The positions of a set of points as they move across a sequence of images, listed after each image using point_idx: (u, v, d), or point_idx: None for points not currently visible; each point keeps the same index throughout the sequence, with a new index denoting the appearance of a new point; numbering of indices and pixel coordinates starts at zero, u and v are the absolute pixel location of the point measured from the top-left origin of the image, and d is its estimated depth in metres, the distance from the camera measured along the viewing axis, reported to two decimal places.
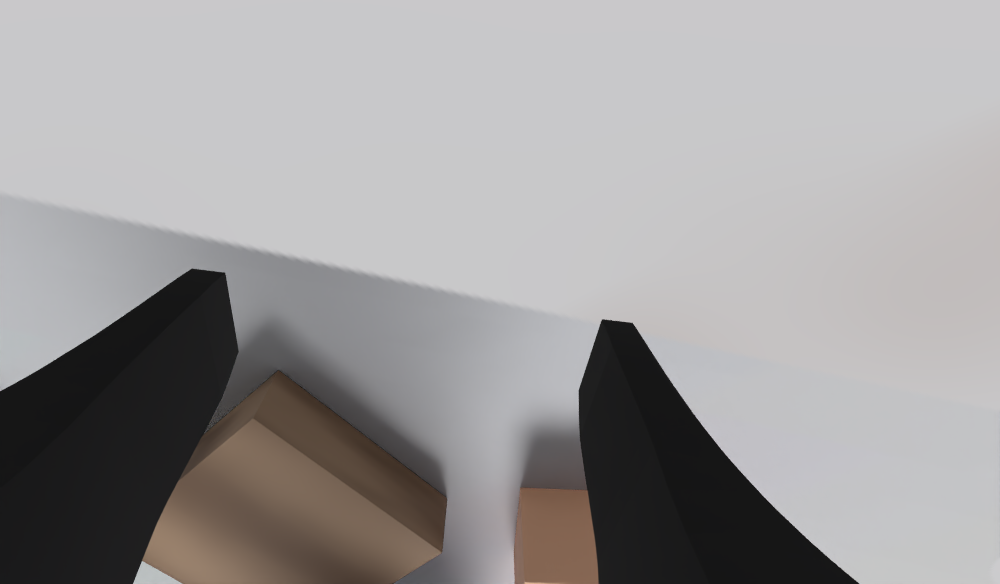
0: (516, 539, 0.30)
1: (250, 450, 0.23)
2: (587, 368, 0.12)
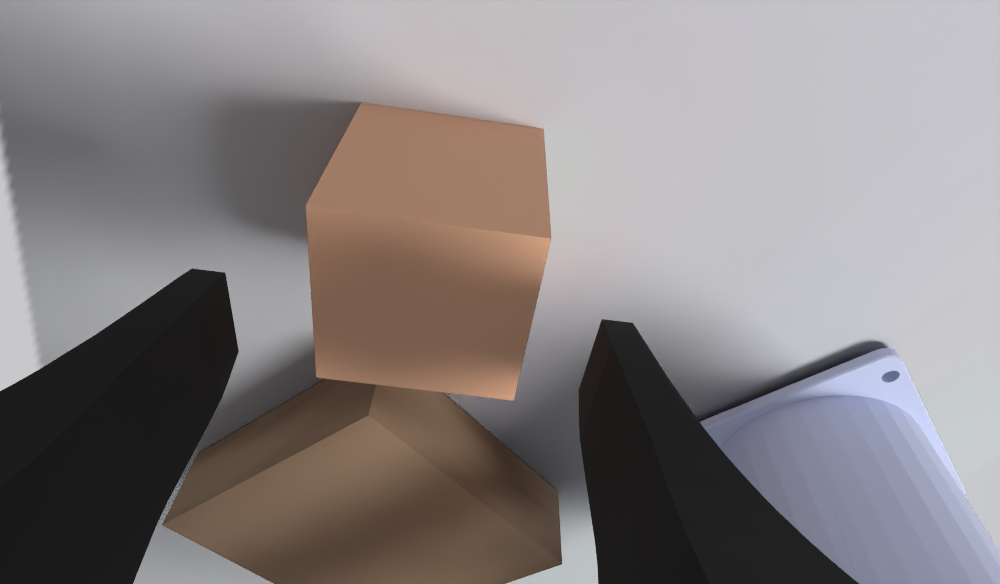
0: None
1: (210, 533, 0.22)
2: (587, 368, 0.12)
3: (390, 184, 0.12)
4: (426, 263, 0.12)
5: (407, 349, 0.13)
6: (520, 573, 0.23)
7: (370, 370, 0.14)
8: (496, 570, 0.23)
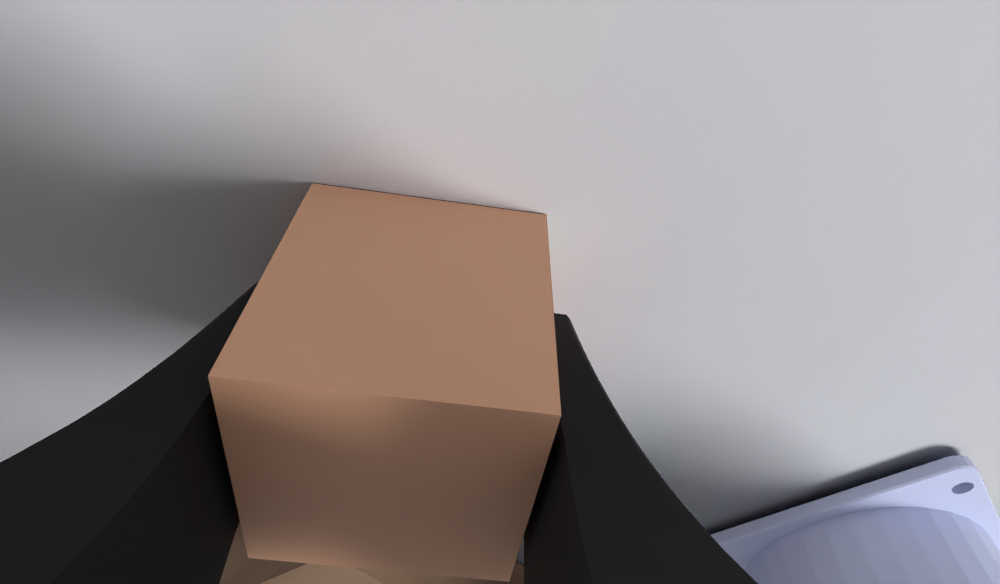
0: None
1: None
2: None
3: (336, 325, 0.09)
4: (386, 442, 0.08)
5: (366, 531, 0.10)
6: None
7: (318, 551, 0.10)
8: None
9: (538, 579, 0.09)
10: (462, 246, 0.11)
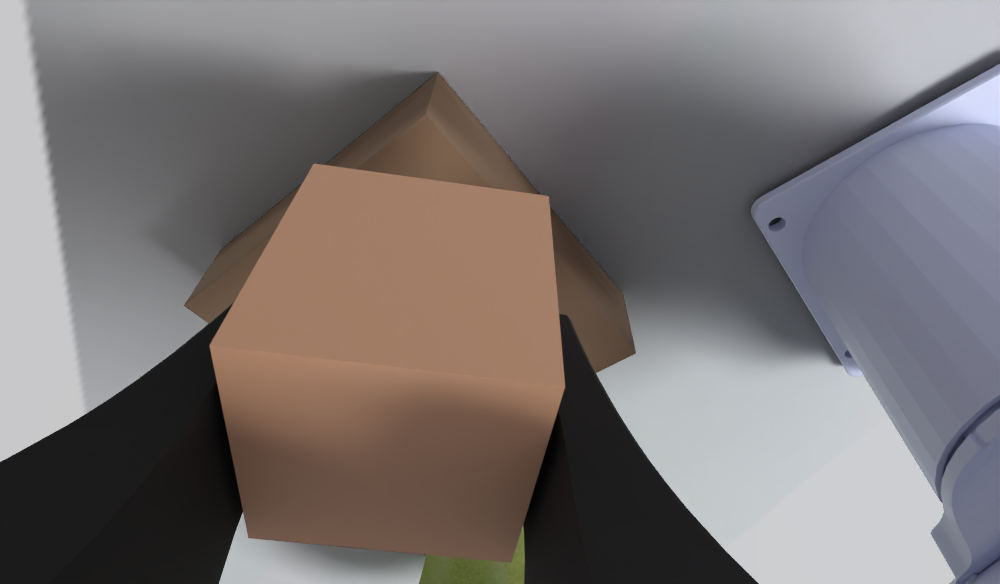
0: None
1: None
2: None
3: (338, 299, 0.09)
4: (388, 415, 0.08)
5: (366, 509, 0.10)
6: None
7: (320, 531, 0.10)
8: None
9: (538, 579, 0.09)
10: (464, 225, 0.11)
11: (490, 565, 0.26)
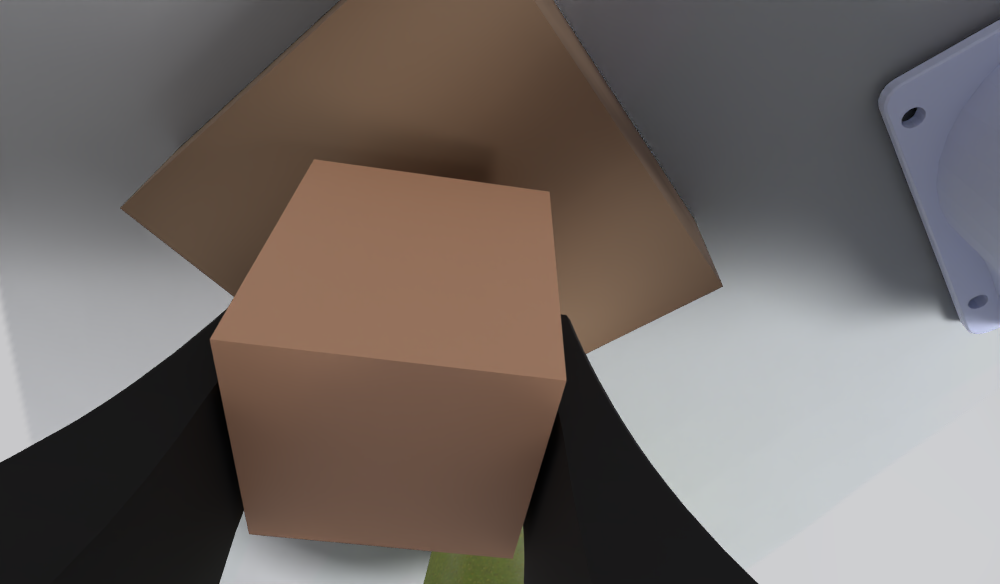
0: None
1: (194, 228, 0.14)
2: None
3: (339, 294, 0.09)
4: (389, 409, 0.08)
5: (367, 505, 0.10)
6: (656, 308, 0.15)
7: (320, 527, 0.10)
8: (621, 304, 0.15)
9: (538, 579, 0.09)
10: (465, 220, 0.11)
11: (512, 564, 0.21)
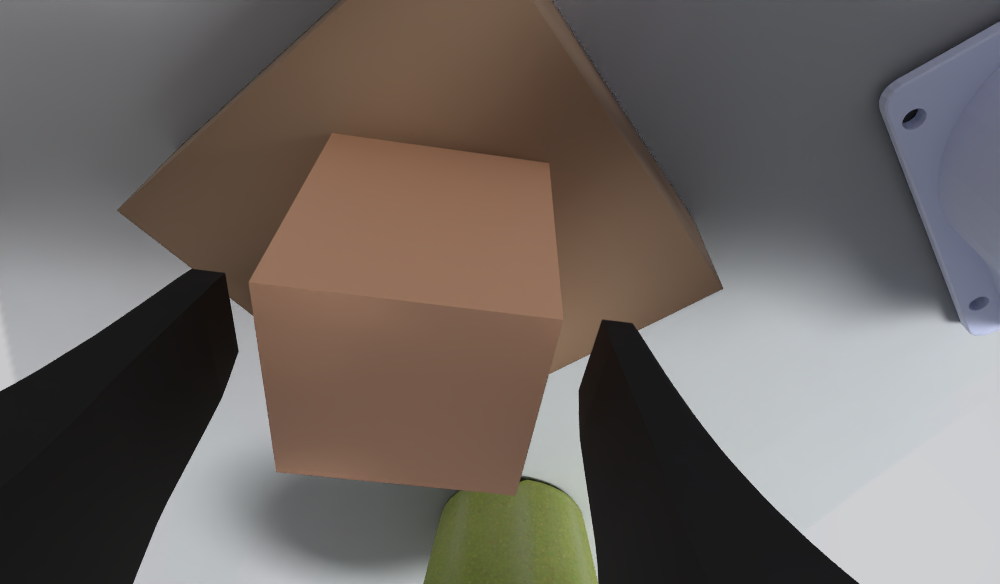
0: None
1: (191, 231, 0.14)
2: (587, 368, 0.12)
3: (361, 246, 0.10)
4: (406, 349, 0.09)
5: (385, 442, 0.11)
6: (656, 311, 0.15)
7: (341, 464, 0.11)
8: (620, 306, 0.15)
9: None
10: (471, 186, 0.12)
11: (511, 566, 0.21)
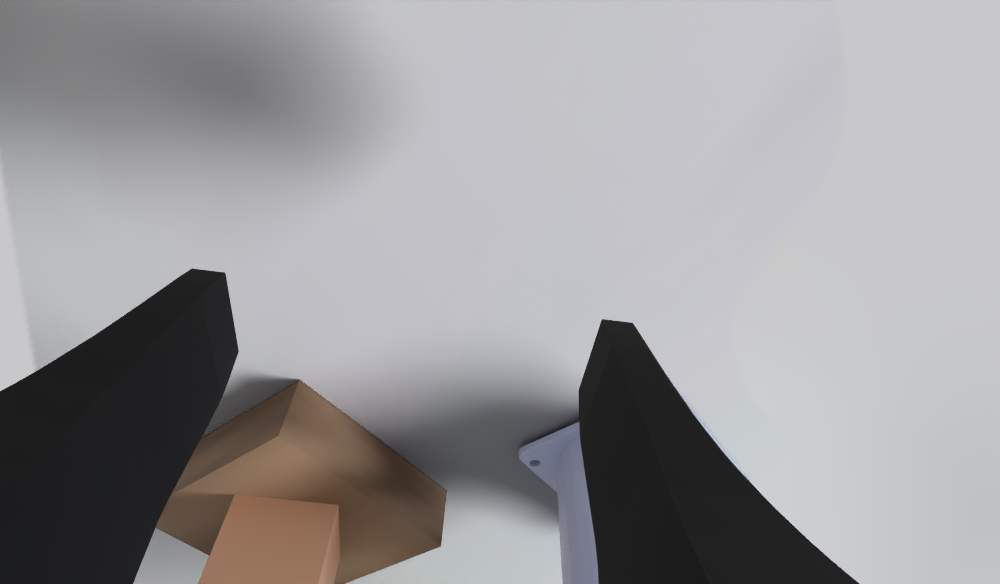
0: None
1: (170, 523, 0.28)
2: (587, 368, 0.12)
3: None
4: None
5: None
6: (410, 553, 0.30)
7: None
8: (392, 551, 0.30)
9: None
10: (293, 531, 0.26)
11: None
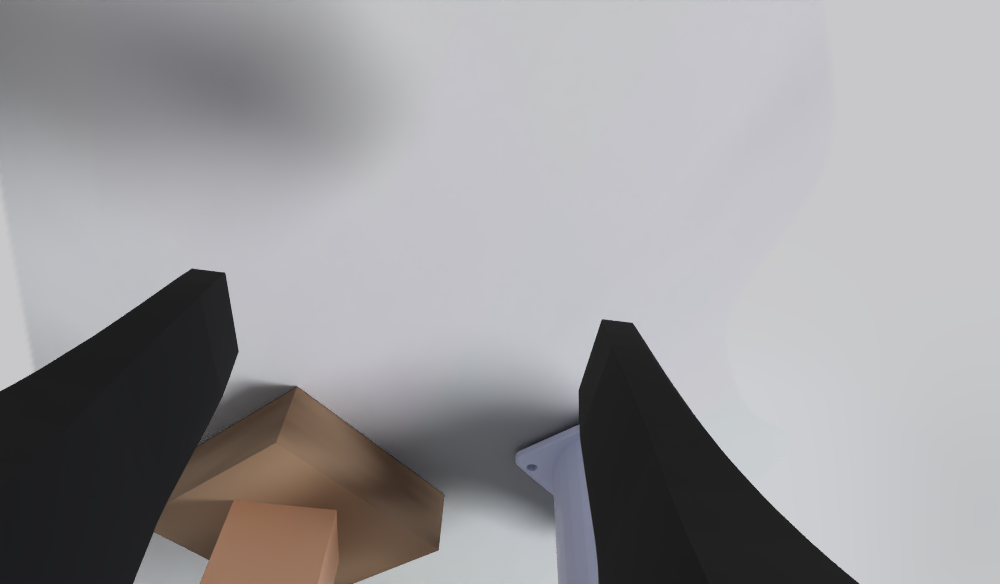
0: None
1: (170, 528, 0.29)
2: (587, 368, 0.12)
3: None
4: None
5: None
6: (408, 557, 0.30)
7: None
8: (390, 555, 0.30)
9: None
10: (292, 537, 0.26)
11: None
